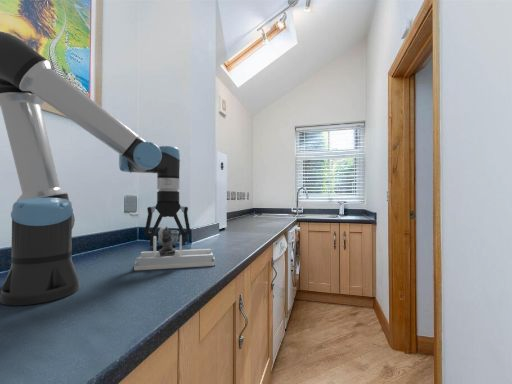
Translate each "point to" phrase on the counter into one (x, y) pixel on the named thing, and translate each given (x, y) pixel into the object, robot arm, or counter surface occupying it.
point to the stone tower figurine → (167, 244)
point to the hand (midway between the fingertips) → (167, 254)
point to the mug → (173, 236)
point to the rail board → (175, 259)
